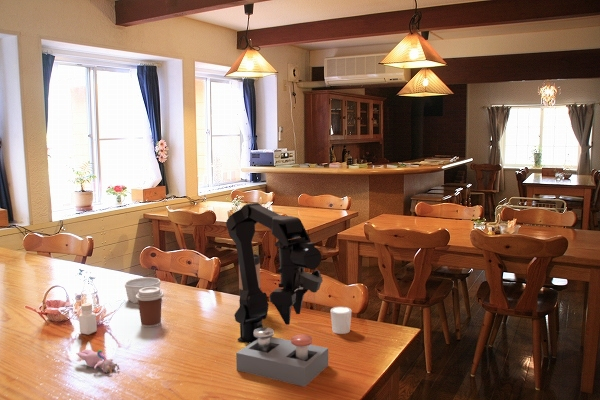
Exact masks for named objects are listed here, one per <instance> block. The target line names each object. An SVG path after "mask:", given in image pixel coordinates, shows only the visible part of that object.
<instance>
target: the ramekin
mask: <svg viewBox="0 0 600 400" xmlns="http://www.w3.org/2000/svg"><path fill="white" fill-rule="evenodd" d="M161 283H162V282H161V280H160V279H159V278H157V277H148V276H147V277H137V278H133V279H130V280H127V281H125V283H124V288H125V291H126V296H127V299H128V300H129V302H130V303H132V304H133V303H134V304H138V300H137V299H136V295H137V294H138V293H139V292H138V291H139V290H140V289H142V288H145V287H158V288H160V289H161Z"/></svg>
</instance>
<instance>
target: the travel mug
mask: <svg viewBox="0 0 600 400" xmlns="http://www.w3.org/2000/svg"><path fill="white" fill-rule="evenodd" d="M254 259H255V266H256V272H257V278H258V285H259V288H260V289H261V287H262V286H261V282H262V281H261V263H260V262H261V259H260V255H259V254H255V253H254ZM238 287H239V288H238V289H239V298H240V297H241V294H242V292H243V286H242V280H241V274H240V267H239V266H238Z"/></svg>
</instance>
